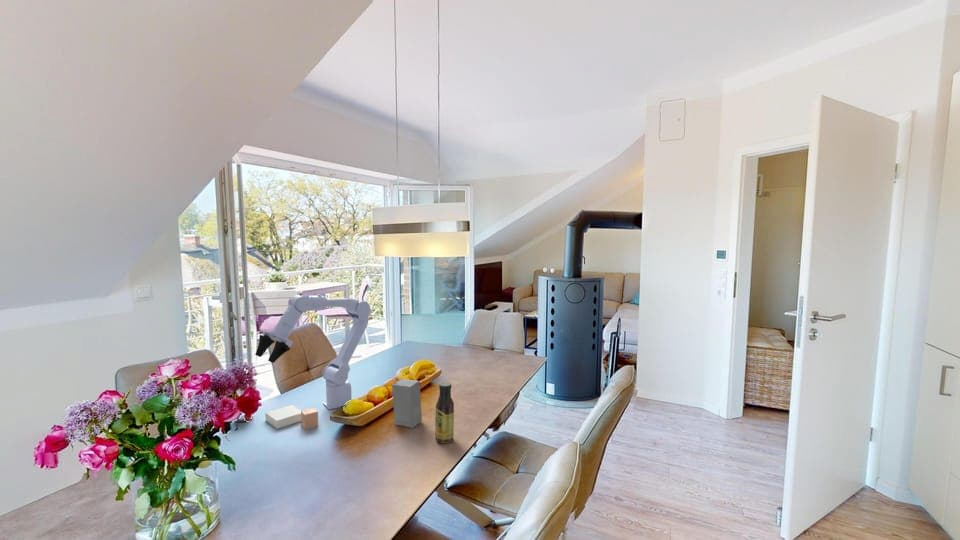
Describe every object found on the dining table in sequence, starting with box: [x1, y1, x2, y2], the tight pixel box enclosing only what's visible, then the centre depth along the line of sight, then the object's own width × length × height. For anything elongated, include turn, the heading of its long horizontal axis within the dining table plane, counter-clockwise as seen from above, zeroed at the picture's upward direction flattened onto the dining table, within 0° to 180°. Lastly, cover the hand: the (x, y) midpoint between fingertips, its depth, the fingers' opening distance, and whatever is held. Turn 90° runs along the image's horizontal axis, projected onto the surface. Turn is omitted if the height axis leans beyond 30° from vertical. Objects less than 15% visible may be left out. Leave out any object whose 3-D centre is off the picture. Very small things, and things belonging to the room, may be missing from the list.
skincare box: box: [391, 378, 423, 429], centre depth 152 cm, size 8×7×16 cm
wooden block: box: [300, 407, 319, 430], centre depth 150 cm, size 5×5×6 cm
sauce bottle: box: [434, 381, 455, 444], centre depth 139 cm, size 6×6×20 cm
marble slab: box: [265, 404, 302, 430], centre depth 154 cm, size 10×10×3 cm
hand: (264, 358), depth 146 cm, fingers open, 7 cm apart
